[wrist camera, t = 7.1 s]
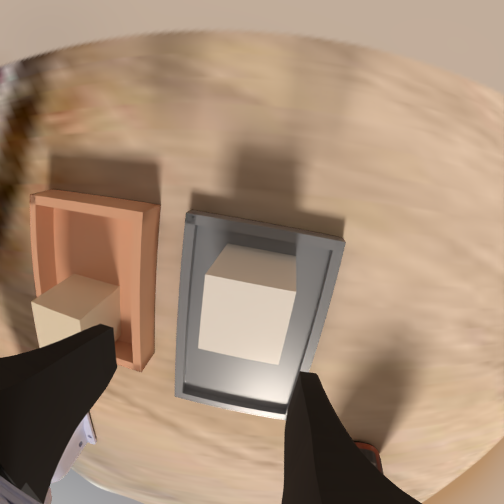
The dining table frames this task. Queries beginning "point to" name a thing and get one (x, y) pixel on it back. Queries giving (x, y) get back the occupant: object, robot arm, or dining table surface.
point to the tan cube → (76, 308)
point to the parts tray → (299, 329)
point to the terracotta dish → (101, 257)
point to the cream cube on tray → (248, 303)
